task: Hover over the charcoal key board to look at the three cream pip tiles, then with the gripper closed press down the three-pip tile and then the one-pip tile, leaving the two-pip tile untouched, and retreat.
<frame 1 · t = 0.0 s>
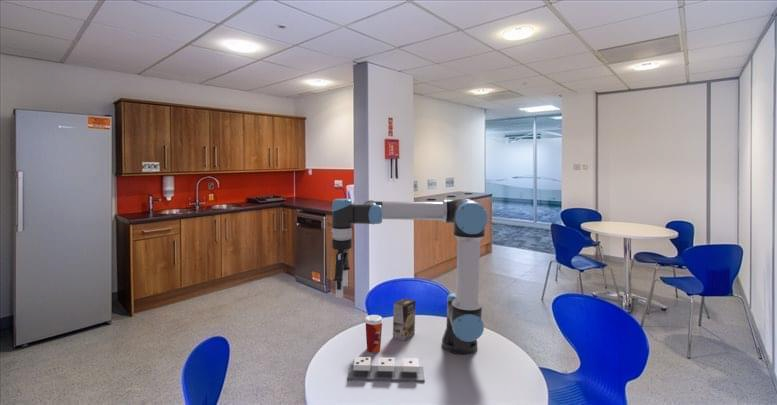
hand: (342, 291, 152), 28 cm above the table, tool pointing down, fingers open, 13 cm apart
tile 2: (386, 363, 144), point 4 cm above the table, slide at 0.0 cm
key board: (386, 374, 144), on the table
tile 1: (410, 364, 143), point 4 cm above the table, slide at 0.0 cm
tile 3: (362, 363, 144), point 4 cm above the table, slide at 0.0 cm
paper cup: (373, 350, 163), on the table
coffee box: (403, 335, 177), on the table
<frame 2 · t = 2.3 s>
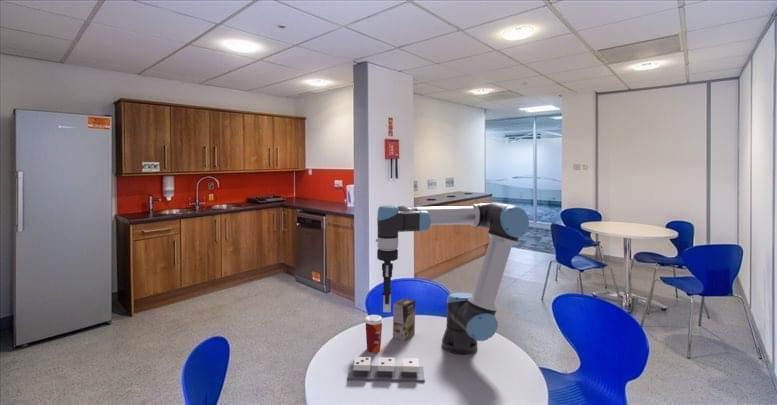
hand: (387, 311, 142), 24 cm above the table, tool pointing down, fingers closed
nothing on the table moved.
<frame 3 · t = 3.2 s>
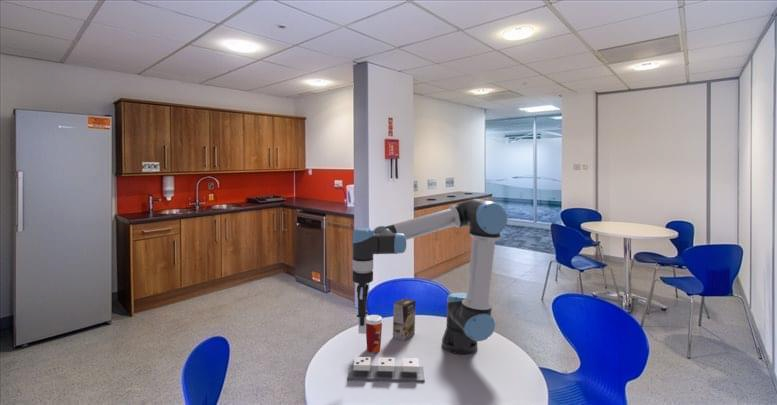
hand: (362, 332, 143), 16 cm above the table, tool pointing down, fingers closed
nothing on the table moved.
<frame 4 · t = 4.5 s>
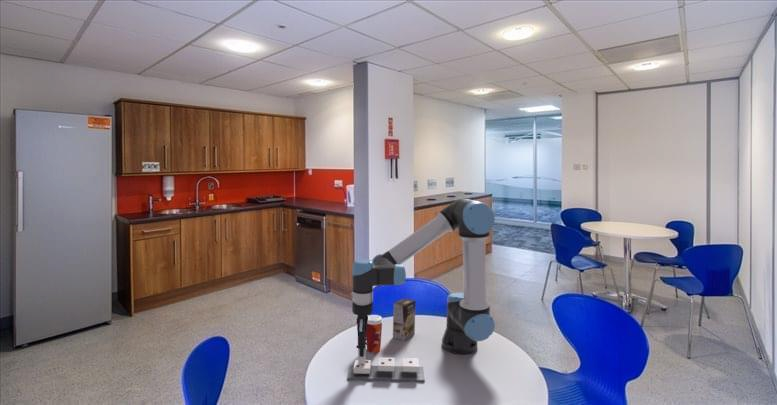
hand: (361, 363, 144), 4 cm above the table, tool pointing down, fingers closed
tile 3: (362, 366, 144), point 3 cm above the table, slide at 1.2 cm, touching gripper
everything else where it was.
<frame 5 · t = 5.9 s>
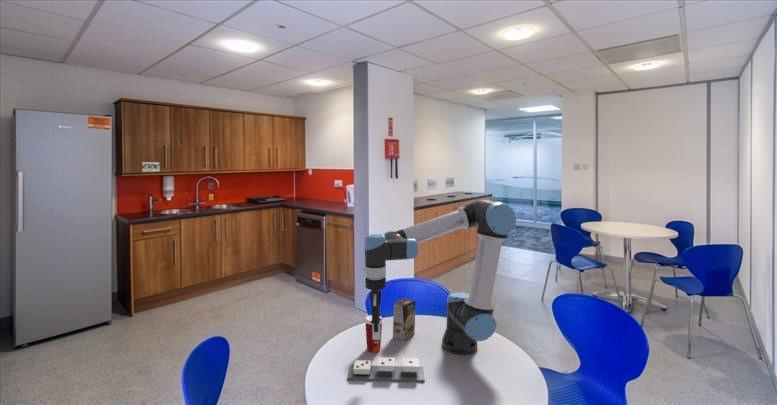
hand: (376, 338, 143), 14 cm above the table, tool pointing down, fingers closed
tile 3: (362, 367, 144), point 3 cm above the table, slide at 1.4 cm
everything else where it was.
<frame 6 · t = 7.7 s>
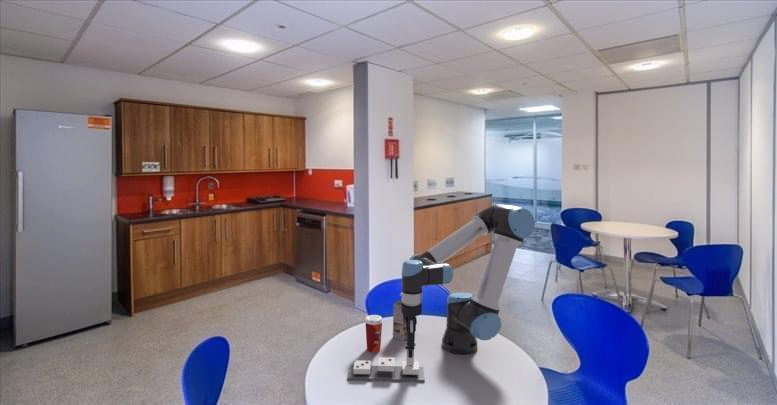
hand: (410, 364, 143), 4 cm above the table, tool pointing down, fingers closed
tile 1: (410, 367, 143), point 3 cm above the table, slide at 1.1 cm, touching gripper
everything else where it was.
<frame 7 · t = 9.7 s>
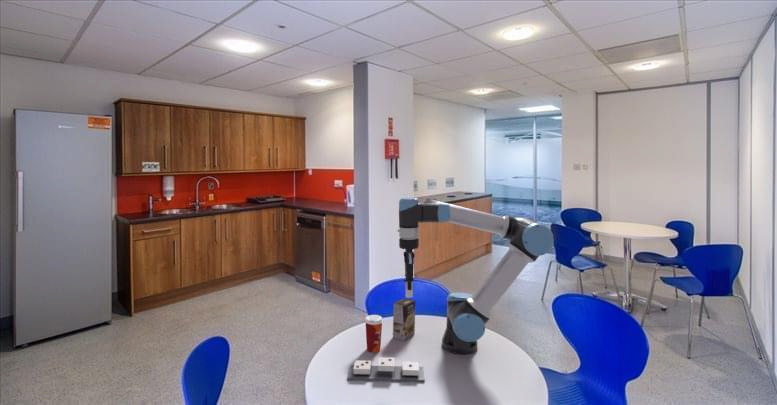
hand: (409, 296, 151), 26 cm above the table, tool pointing down, fingers closed
tile 1: (410, 368, 144), point 3 cm above the table, slide at 1.4 cm
everything else where it was.
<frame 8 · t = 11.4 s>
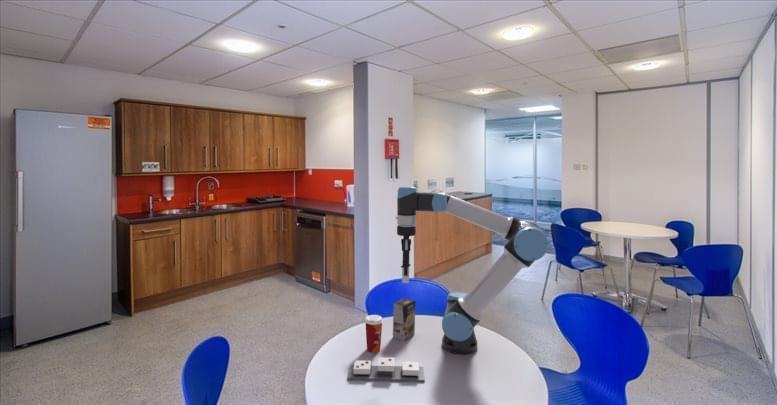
hand: (405, 282, 157), 30 cm above the table, tool pointing down, fingers closed
nothing on the table moved.
at the end: tile 3 slide at 1.4 cm; tile 1 slide at 1.4 cm; tile 2 slide at 0.0 cm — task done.
